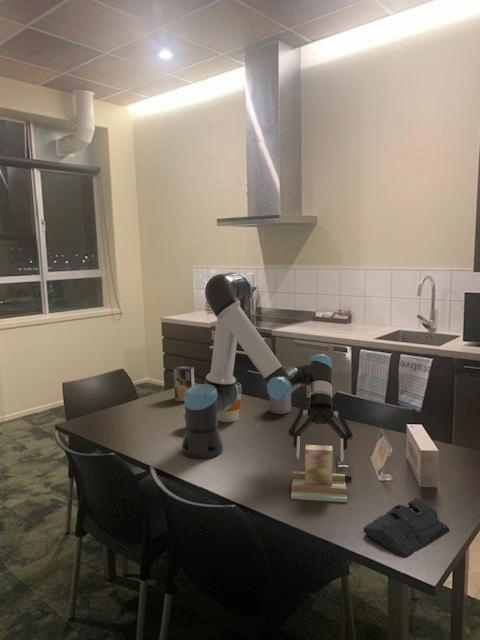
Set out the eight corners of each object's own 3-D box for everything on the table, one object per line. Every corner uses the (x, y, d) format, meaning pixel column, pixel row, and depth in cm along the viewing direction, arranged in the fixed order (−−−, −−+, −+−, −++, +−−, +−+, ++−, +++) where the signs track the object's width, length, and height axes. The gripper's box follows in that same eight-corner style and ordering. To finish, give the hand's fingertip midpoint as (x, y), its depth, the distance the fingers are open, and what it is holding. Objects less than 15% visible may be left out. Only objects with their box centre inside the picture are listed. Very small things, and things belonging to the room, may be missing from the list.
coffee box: (195, 397, 243) (194, 366, 241) (192, 401, 237) (191, 369, 235) (178, 397, 245) (176, 365, 243) (174, 401, 239) (173, 369, 236)
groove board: (291, 498, 143) (291, 489, 143) (293, 477, 157) (293, 468, 156) (346, 502, 141) (346, 492, 140) (344, 479, 154) (344, 470, 154)
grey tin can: (270, 406, 227) (270, 375, 225) (291, 407, 226) (291, 376, 224) (269, 414, 218) (268, 381, 215) (291, 414, 216) (290, 381, 214)
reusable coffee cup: (247, 416, 214) (247, 383, 212) (231, 425, 204) (231, 390, 202) (224, 412, 221) (223, 379, 219) (207, 420, 211) (206, 386, 208)
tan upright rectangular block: (305, 487, 147) (305, 449, 146) (305, 481, 151) (305, 444, 149) (332, 488, 146) (332, 450, 145) (331, 483, 150) (332, 445, 148)
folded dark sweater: (353, 533, 126) (353, 516, 125) (403, 505, 139) (403, 490, 138) (405, 562, 114) (405, 544, 113) (454, 529, 127) (455, 512, 126)
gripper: (358, 403, 165) (360, 465, 153) (284, 401, 169) (280, 460, 157) (359, 393, 159) (361, 456, 147) (282, 390, 163) (278, 451, 151)
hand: (319, 458), depth 152 cm, fingers open, 13 cm apart
